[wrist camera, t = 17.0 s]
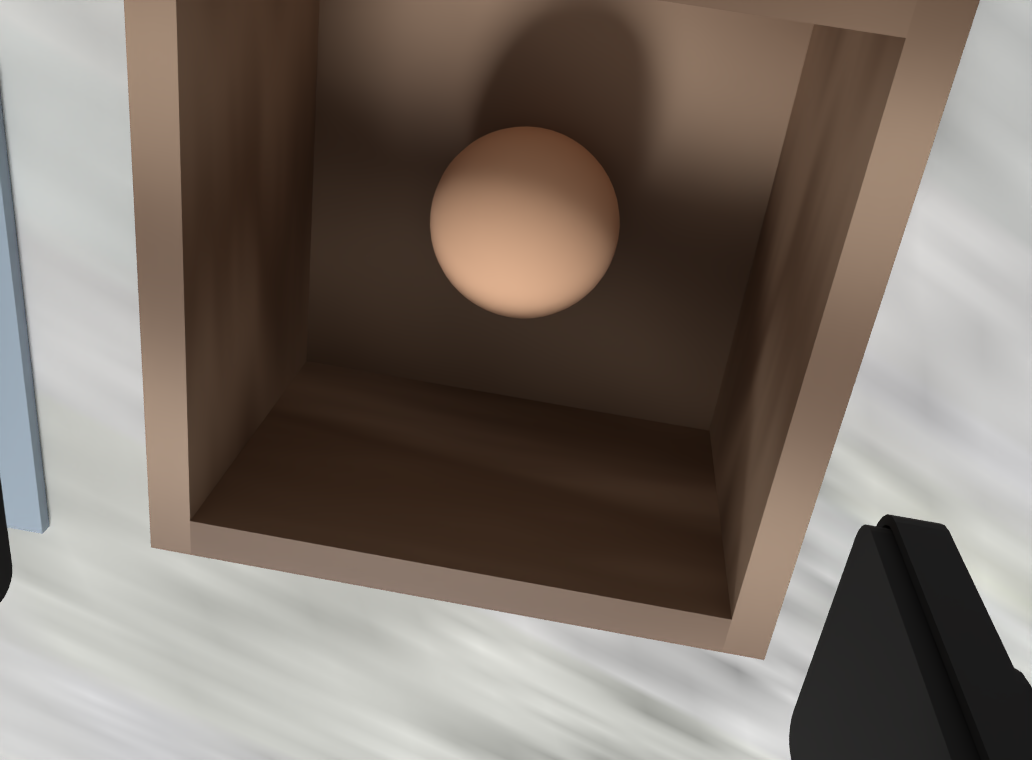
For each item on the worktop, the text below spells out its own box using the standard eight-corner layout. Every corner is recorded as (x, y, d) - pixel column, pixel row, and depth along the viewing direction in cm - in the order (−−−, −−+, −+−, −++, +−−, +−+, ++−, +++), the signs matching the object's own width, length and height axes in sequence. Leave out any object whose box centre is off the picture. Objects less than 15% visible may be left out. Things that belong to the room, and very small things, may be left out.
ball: (605, 292, 23) (597, 364, 20) (441, 265, 23) (404, 331, 20) (636, 124, 21) (634, 170, 18) (458, 96, 22) (420, 135, 18)
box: (731, 447, 26) (764, 660, 18) (285, 369, 26) (150, 547, 19) (865, -47, 20) (984, -16, 13) (298, -132, 21) (116, -145, 14)
